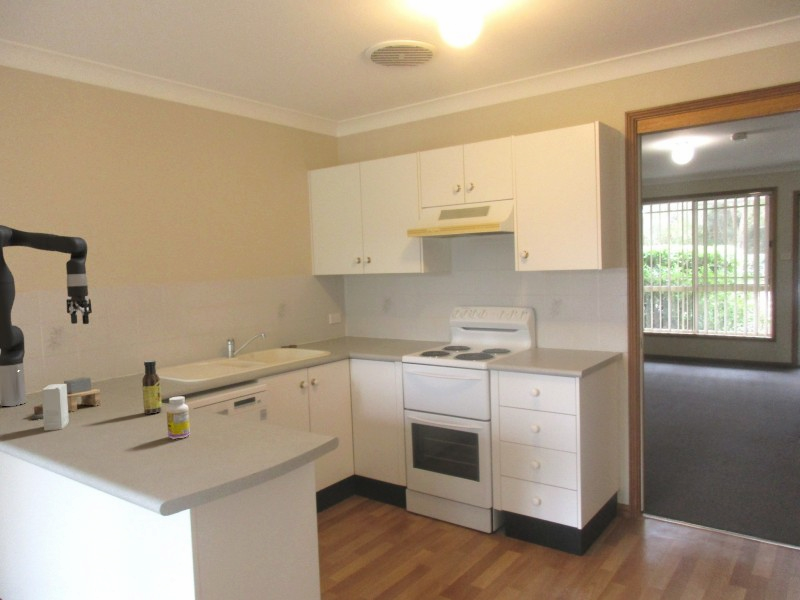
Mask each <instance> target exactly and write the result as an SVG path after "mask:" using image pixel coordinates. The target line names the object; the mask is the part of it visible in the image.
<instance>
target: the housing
mask: <svg viewBox="0 0 800 600" xmlns="http://www.w3.org/2000/svg"><path fill="white" fill-rule="evenodd" d="M63 382H64V383H63V384H67V394H76V393H81V392H85V391H90V390H91V389H92V382H91V377H84V376H83V377H78V378H72V379H67V380H63Z"/></svg>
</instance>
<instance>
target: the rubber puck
mask: <svg viewBox="0 0 800 600" xmlns="http://www.w3.org/2000/svg"><path fill="white" fill-rule="evenodd" d="M38 419H40V420H44V419H43V414H37V415H34V414H33V415H32V420H33V421H39V420H38Z"/></svg>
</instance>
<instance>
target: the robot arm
mask: <svg viewBox="0 0 800 600" xmlns="http://www.w3.org/2000/svg"><path fill="white" fill-rule="evenodd" d="M7 247H25V248H26V247H27V248H31V249H36V250H41V251H47V252H57V253H62V254H70V258H69V260H66V261H67V262H66V264H65V267H66V268H65V269H66V290H67V297H69V298H67V299H66V301H65V302H66V313H67V314H69V316H70V324H72V325H75V324H77V323H78V315H77V314H78V311H79V312H80V313H81V315H82V316H81V317H82V318H81V319H82V325H89V323H90V320H89V319H90V318H89V315H90V314H92V313H93V311H92V302H91V301H92V300H91V298H86V297H87V296H89V287H88V277H87V271H86V270H87V269H86V261H87V257H88V255H87V254H88V244H87V242H86V240H85V239H83V238H82V237H81V236H66V235H59V234H54V233H46V232H45V233H44V232H29V231H23V230H19V229H16V228H12V227H9V226H6V225H2V224H0V405H1V406H0V407H2V406H10V407H16V405H17V406H20V404H22V405H24V403H25V404H26V403H27V395H26V394H27V391H26V381H25V380H26V379H25V369H24V368H25V367H24V359H25V358H24V357H25V336H24V332H23V331H22V329H21V328H20V327H18V326H17V325H12V309H13V306H14V302H15V298H16V284H15V278H14V275H13V273H12V271H11V269H10V268H9V266H8V264H7V262H6V260H5V257H4V249H3V248H7Z"/></svg>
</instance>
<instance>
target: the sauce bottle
mask: <svg viewBox="0 0 800 600" xmlns="http://www.w3.org/2000/svg"><path fill="white" fill-rule="evenodd" d="M143 363H144V364H143V365H144V373H145V374H144V376H143V377H142V381H141V382H142V399H143V409H144V414H145V413H146V415H152V414H151V413H155V414H158V413H157V412H159V413H161V412H162V407H163V406H162V392H161V391H162V389H161V379H160V377H159V375H158V374H157V368H156V363H157V362H156V360H145V361H144V362H143ZM160 411H161V412H160Z"/></svg>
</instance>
